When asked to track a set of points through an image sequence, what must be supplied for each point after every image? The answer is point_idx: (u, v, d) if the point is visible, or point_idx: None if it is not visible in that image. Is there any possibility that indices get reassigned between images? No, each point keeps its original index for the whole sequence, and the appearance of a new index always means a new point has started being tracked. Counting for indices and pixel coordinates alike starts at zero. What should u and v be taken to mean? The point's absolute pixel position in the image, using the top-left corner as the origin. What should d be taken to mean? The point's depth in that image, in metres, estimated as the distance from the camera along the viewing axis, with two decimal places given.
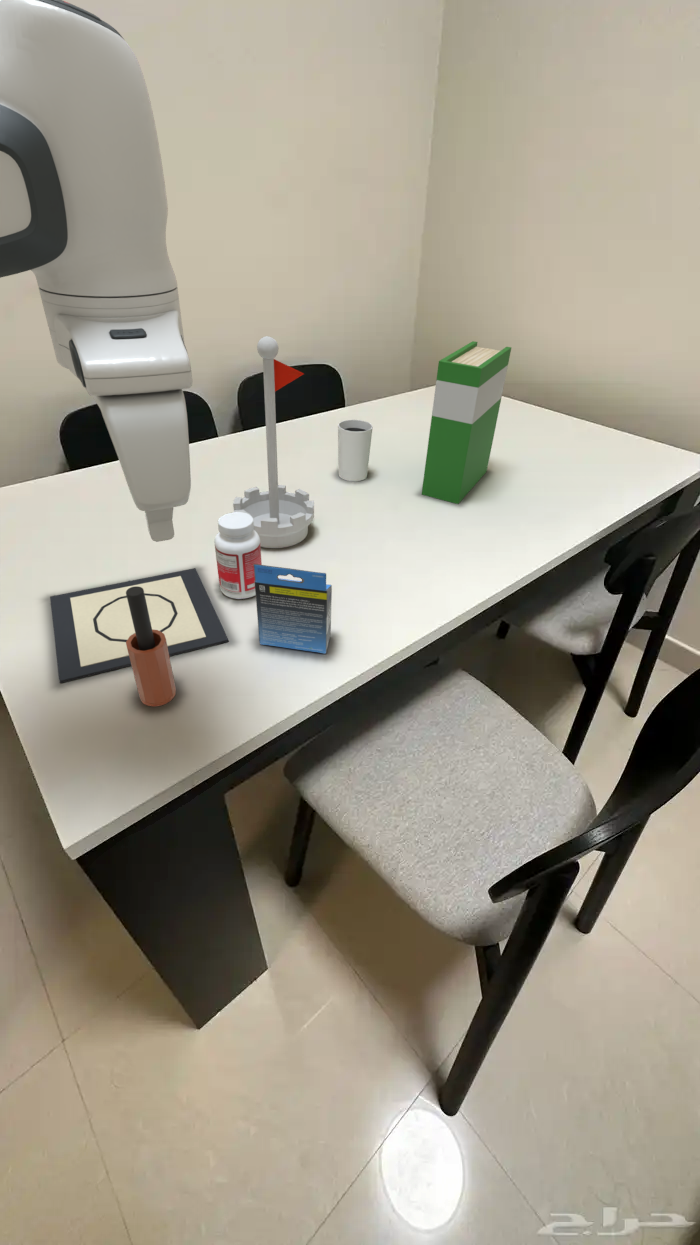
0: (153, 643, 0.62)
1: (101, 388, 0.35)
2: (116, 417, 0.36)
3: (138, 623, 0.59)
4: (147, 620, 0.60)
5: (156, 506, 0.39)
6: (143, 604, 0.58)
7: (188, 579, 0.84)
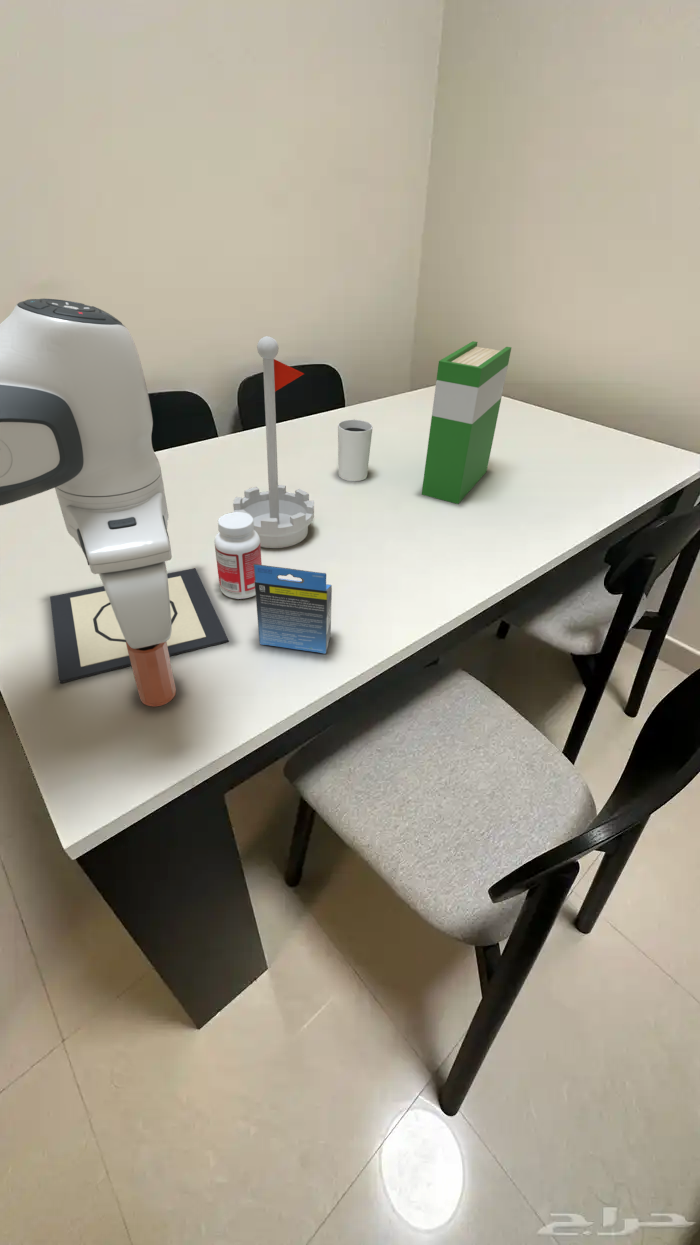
0: None
1: (101, 569, 0.46)
2: (113, 589, 0.47)
3: None
4: None
5: (144, 646, 0.50)
6: None
7: (188, 579, 0.84)
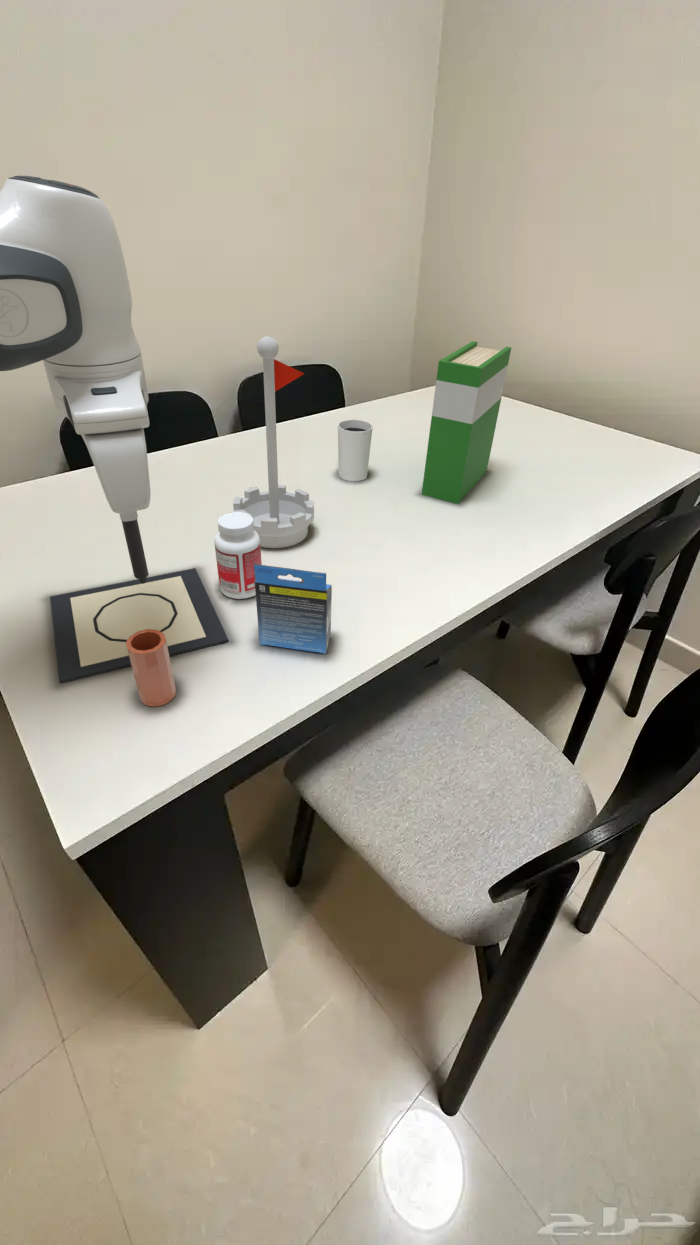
0: (138, 530, 0.67)
1: (85, 429, 0.51)
2: (96, 449, 0.52)
3: None
4: None
5: (125, 509, 0.55)
6: None
7: (188, 579, 0.84)
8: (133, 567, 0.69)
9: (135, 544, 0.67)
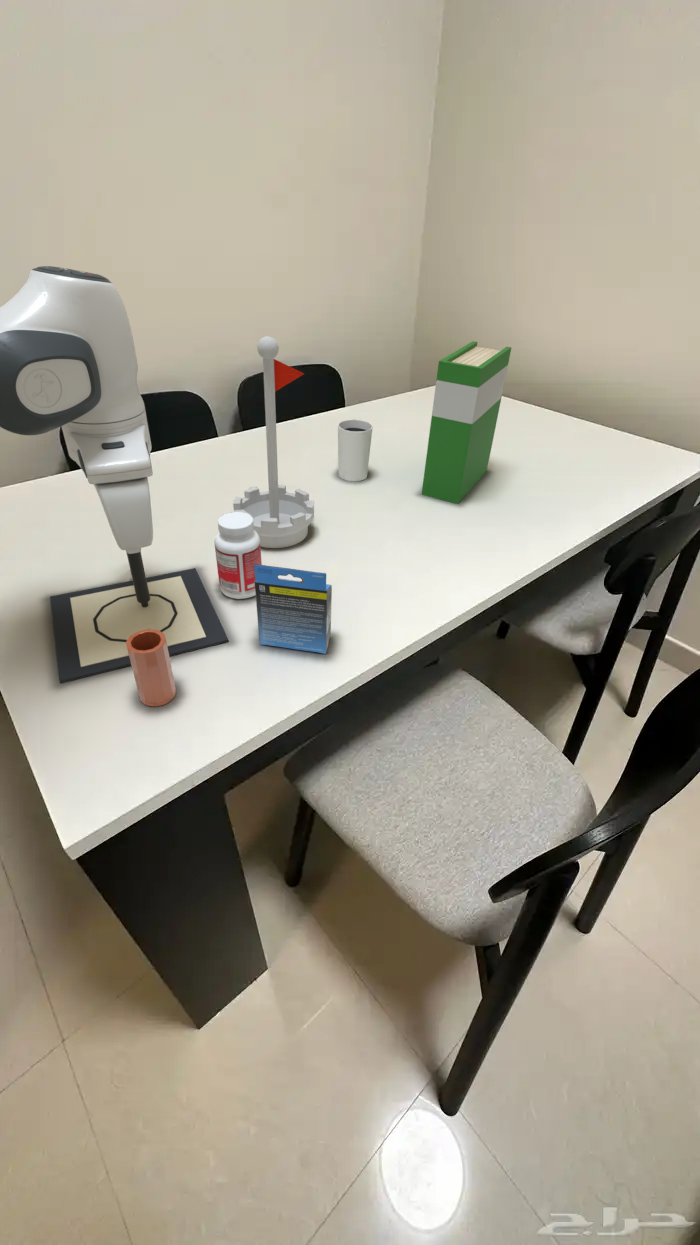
0: (141, 560, 0.74)
1: (96, 480, 0.58)
2: (106, 496, 0.59)
3: None
4: None
5: (131, 547, 0.63)
6: None
7: (188, 579, 0.84)
8: (136, 593, 0.77)
9: (138, 573, 0.75)
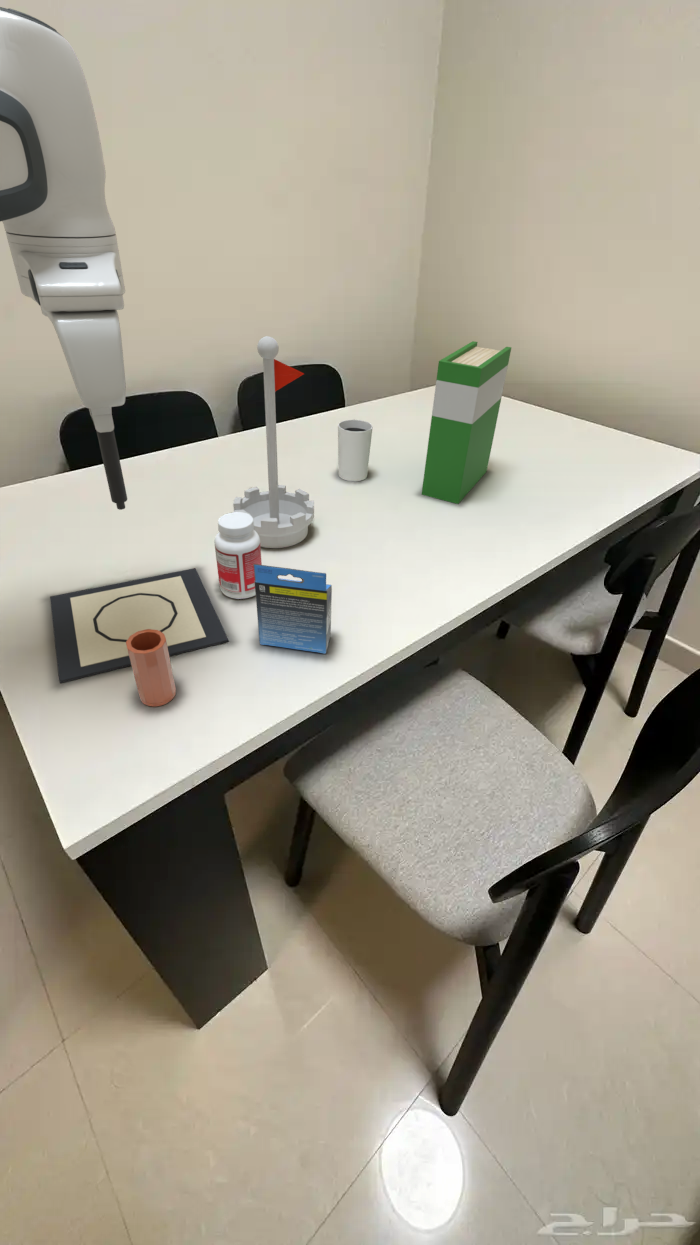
0: (115, 446, 0.62)
1: (51, 304, 0.46)
2: (64, 328, 0.47)
3: None
4: None
5: (98, 403, 0.50)
6: None
7: (188, 579, 0.84)
8: (110, 489, 0.64)
9: (112, 462, 0.62)
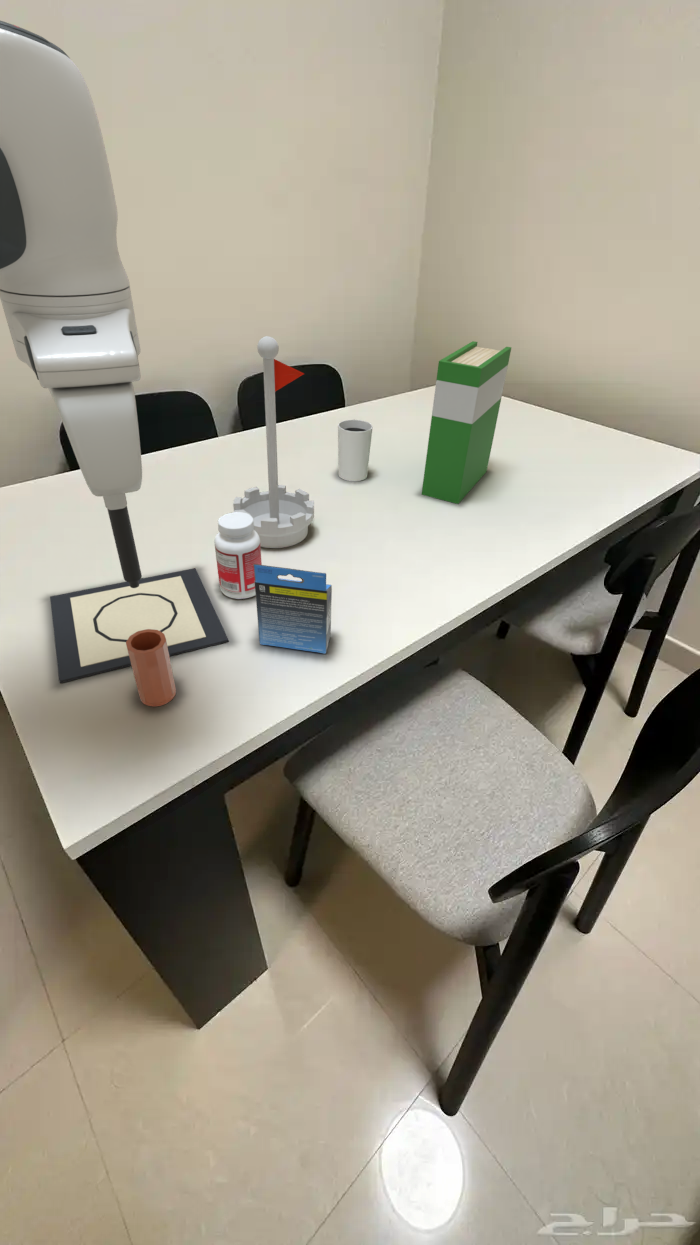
0: (128, 522, 0.53)
1: (52, 381, 0.37)
2: (68, 408, 0.38)
3: None
4: None
5: (109, 492, 0.42)
6: None
7: (188, 579, 0.84)
8: (122, 567, 0.56)
9: (125, 539, 0.54)
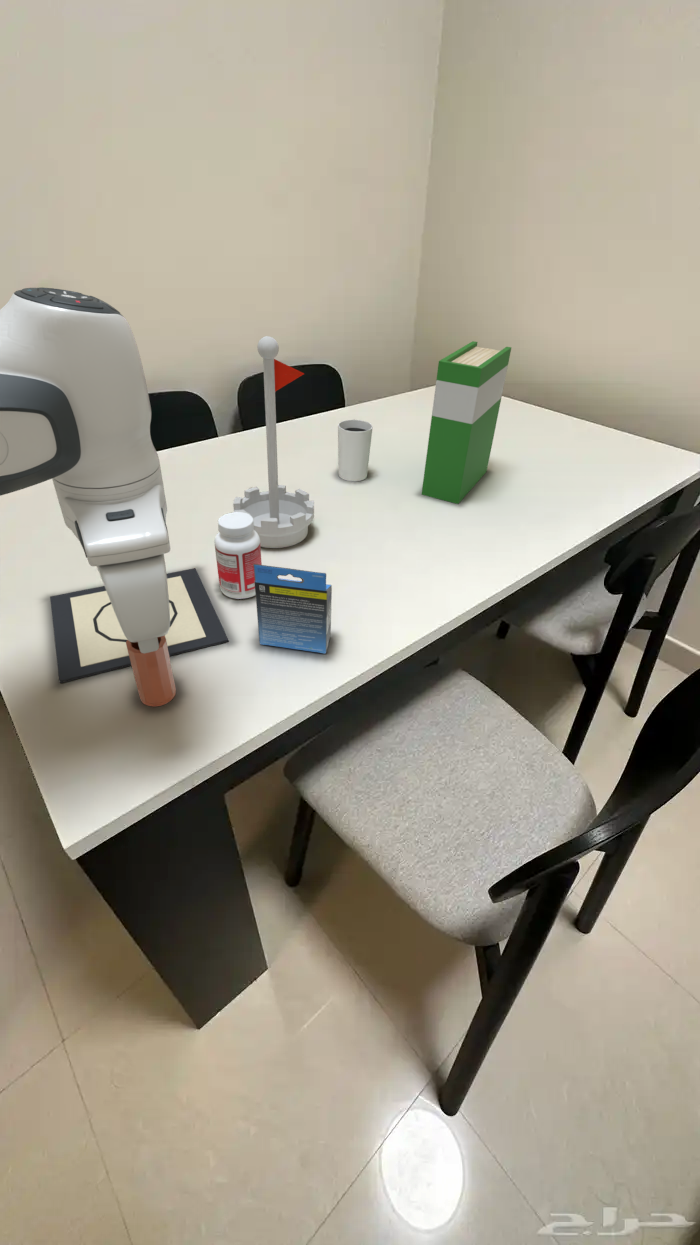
0: None
1: (99, 562, 0.45)
2: (111, 581, 0.46)
3: None
4: None
5: (143, 639, 0.50)
6: None
7: (188, 579, 0.84)
8: None
9: None
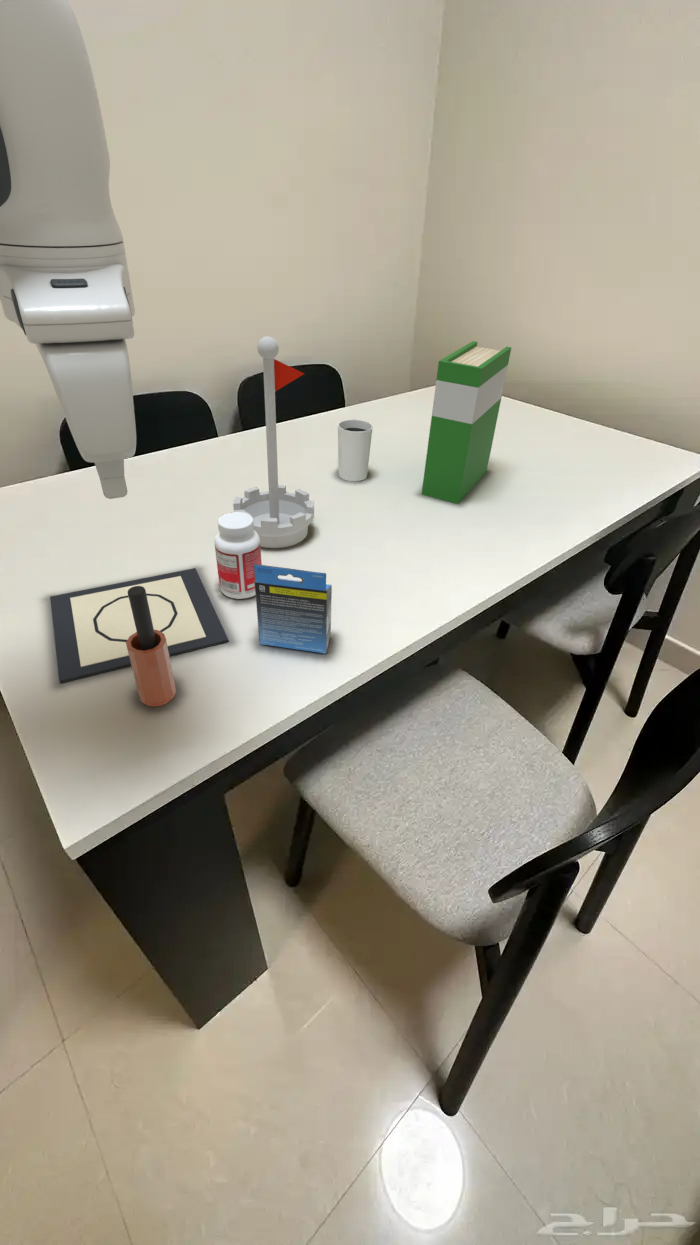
0: (155, 642, 0.62)
1: (40, 335, 0.35)
2: (57, 365, 0.36)
3: (140, 622, 0.59)
4: (149, 619, 0.60)
5: (101, 457, 0.40)
6: (145, 603, 0.58)
7: (188, 579, 0.84)
8: None
9: None
